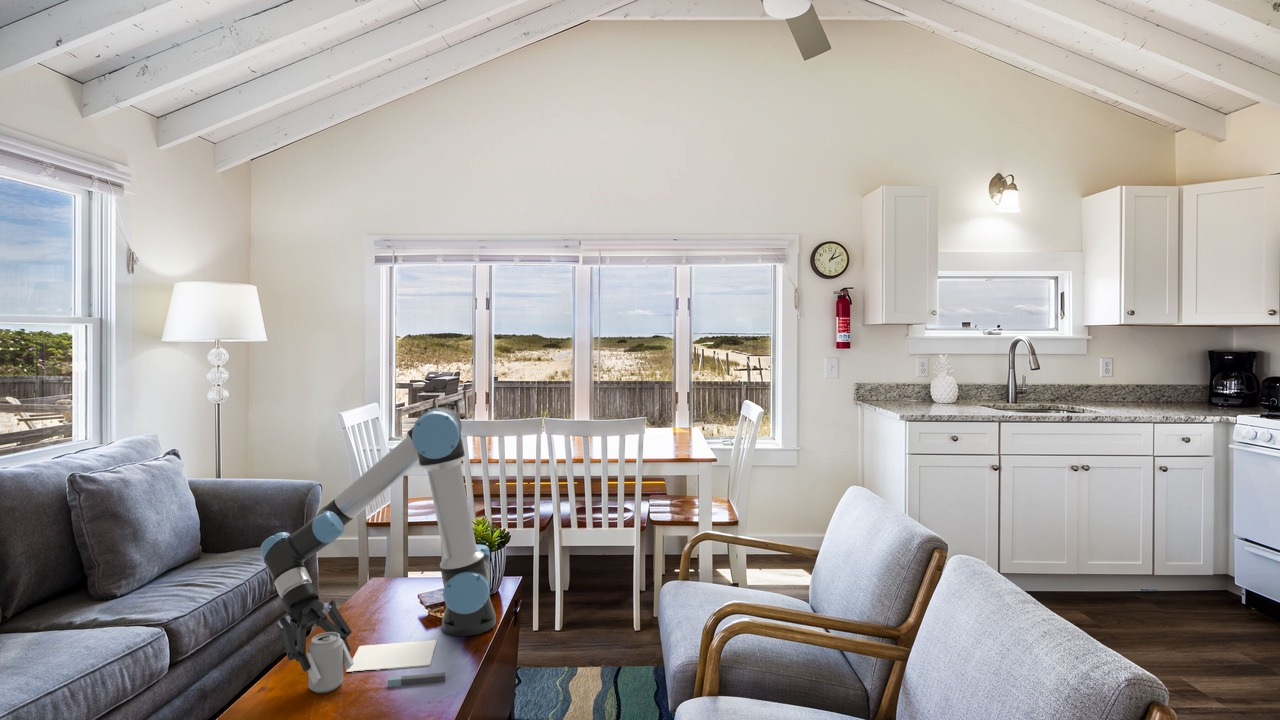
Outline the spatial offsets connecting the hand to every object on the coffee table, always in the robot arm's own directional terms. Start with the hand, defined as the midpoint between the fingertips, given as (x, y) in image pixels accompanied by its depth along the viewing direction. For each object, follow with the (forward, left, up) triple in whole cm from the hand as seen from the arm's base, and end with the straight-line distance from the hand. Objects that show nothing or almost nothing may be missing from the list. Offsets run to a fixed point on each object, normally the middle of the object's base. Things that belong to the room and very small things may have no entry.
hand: (334, 673), depth 155 cm
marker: (-19, 0, -4) cm, 19 cm away
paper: (-11, -15, -4) cm, 19 cm away
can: (+2, -2, -4) cm, 6 cm away
